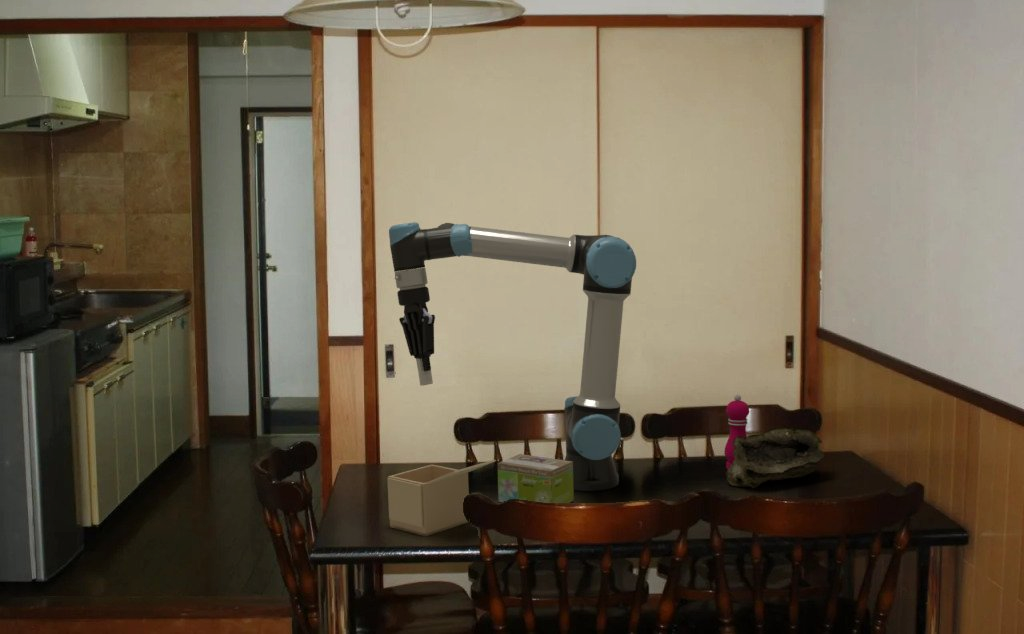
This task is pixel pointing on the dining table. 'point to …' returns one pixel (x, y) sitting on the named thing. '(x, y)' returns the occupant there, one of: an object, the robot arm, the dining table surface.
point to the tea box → (535, 479)
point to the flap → (460, 471)
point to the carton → (426, 500)
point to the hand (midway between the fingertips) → (426, 384)
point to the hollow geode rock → (773, 456)
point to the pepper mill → (735, 425)
